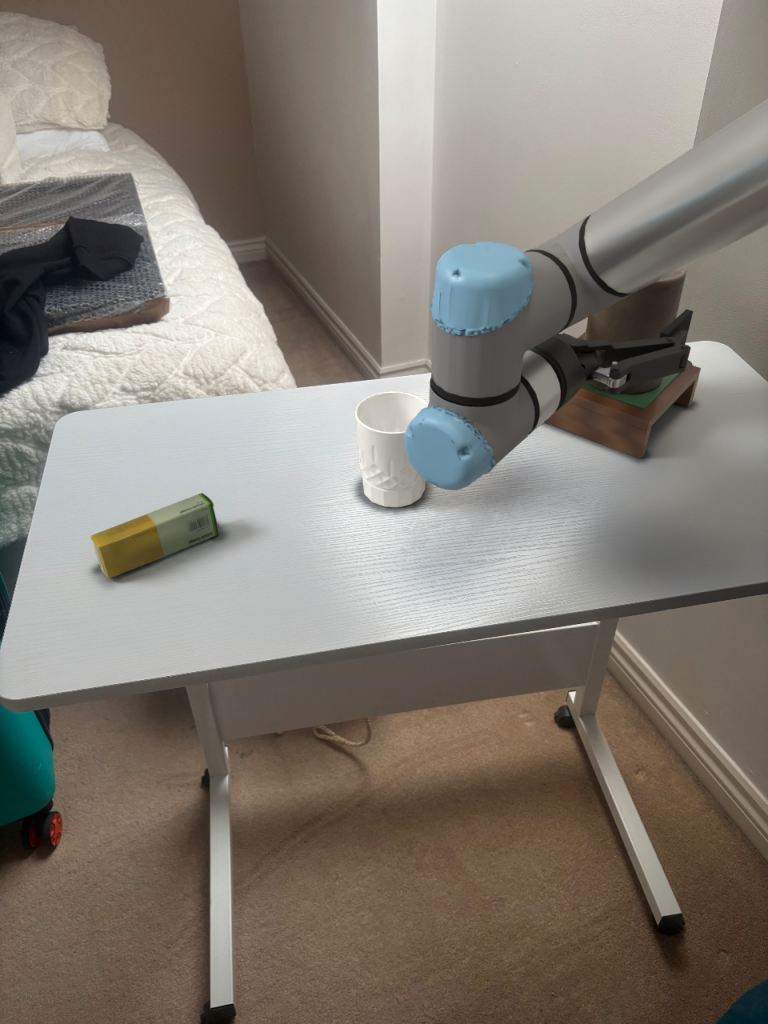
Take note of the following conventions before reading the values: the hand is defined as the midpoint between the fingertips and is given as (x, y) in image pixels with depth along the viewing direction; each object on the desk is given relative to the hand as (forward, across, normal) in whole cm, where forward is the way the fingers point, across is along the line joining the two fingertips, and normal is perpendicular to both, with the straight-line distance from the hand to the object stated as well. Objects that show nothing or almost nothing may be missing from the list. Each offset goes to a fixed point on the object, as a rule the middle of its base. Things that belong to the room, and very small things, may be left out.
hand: (627, 304), depth 91 cm
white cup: (-27, -12, -15) cm, 33 cm away
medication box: (-49, -24, -15) cm, 57 cm away
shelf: (+2, 0, -15) cm, 15 cm away
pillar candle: (+2, 0, -10) cm, 10 cm away
